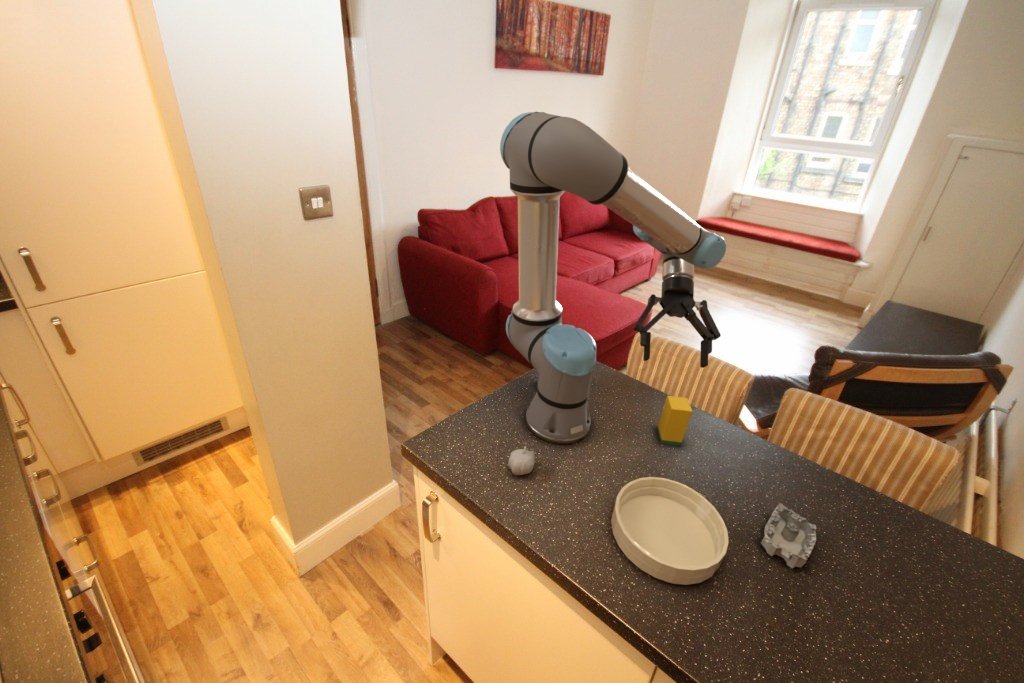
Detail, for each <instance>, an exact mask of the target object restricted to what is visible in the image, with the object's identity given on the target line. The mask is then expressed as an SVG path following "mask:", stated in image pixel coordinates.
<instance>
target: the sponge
mask: <svg viewBox="0 0 1024 683" xmlns="http://www.w3.org/2000/svg"><path fill="white" fill-rule="evenodd" d="M692 414H693V409H692V407H691V404H690V401H689V398H688V397H681V396H674V395H666V398H665V401H664V405H663V408H662V411H661V414H660V418H659V421H658V424H657V427H656V431H657V433H658V438H659V442H660V444H663V445H670V446H678V447H679V446H680V447H681V446H682V443H683V440H684V438H685V437H684V436H685V433H686V432H687V428H688V426H689V423H690V419H691V418H692V417H691V416H692Z"/></svg>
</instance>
